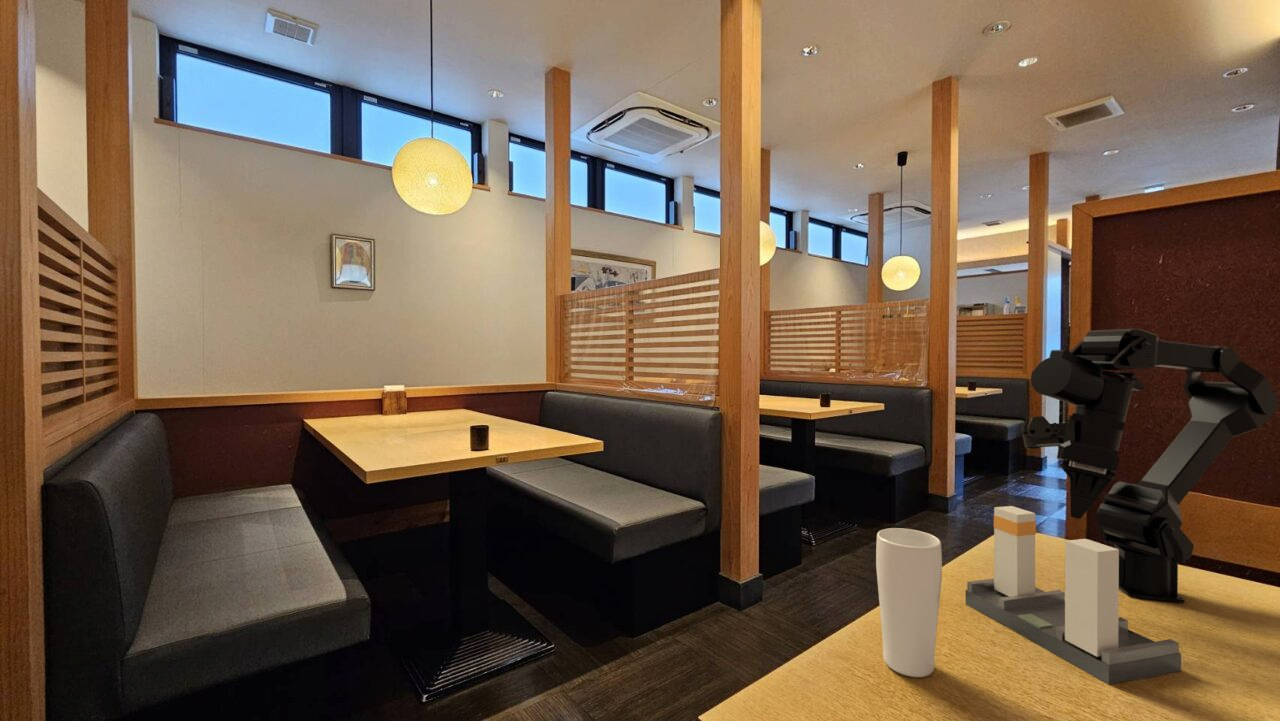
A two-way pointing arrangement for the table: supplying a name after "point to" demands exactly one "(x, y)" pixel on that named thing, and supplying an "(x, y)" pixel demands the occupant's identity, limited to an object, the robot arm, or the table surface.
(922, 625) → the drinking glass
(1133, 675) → the box
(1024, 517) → the lever
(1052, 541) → the table surface
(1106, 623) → the on lever
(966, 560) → the table surface
